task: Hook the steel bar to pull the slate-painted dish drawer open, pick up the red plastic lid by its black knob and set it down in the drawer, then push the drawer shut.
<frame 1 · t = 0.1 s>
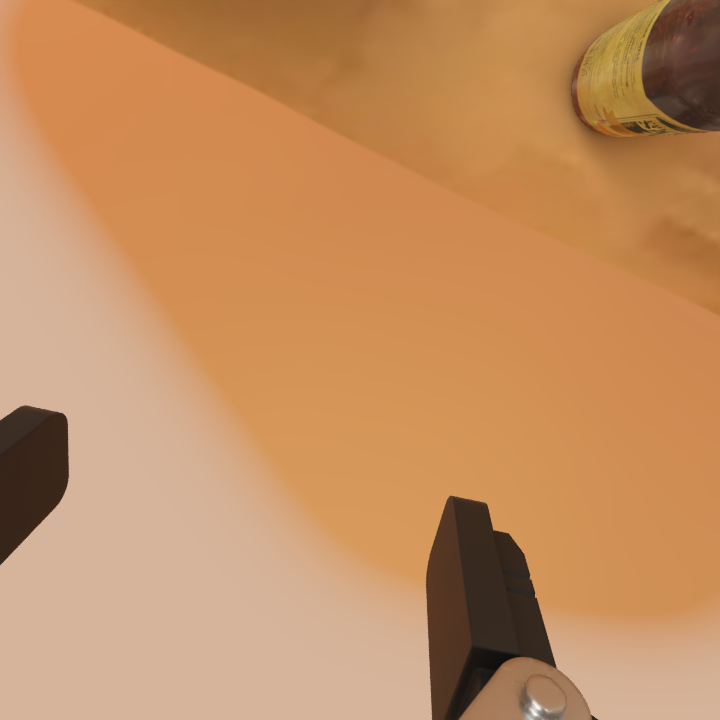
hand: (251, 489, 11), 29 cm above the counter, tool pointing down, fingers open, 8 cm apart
sauce bottle: (620, 81, 34), on the counter
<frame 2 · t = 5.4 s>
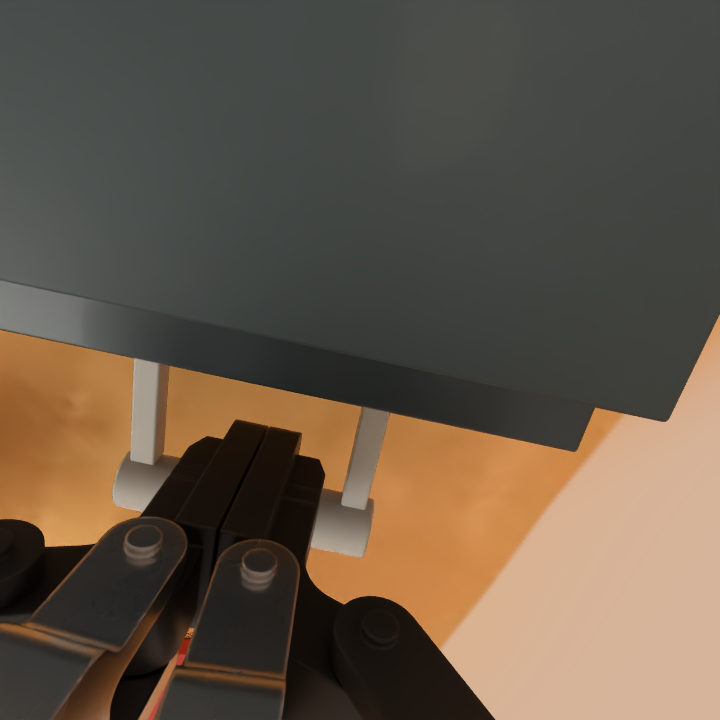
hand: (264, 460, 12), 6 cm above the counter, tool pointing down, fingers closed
lid: (199, 683, 25), on the counter
drawer: (325, 32, 10), point 5 cm above the counter, slide at 0.0 cm, touching gripper
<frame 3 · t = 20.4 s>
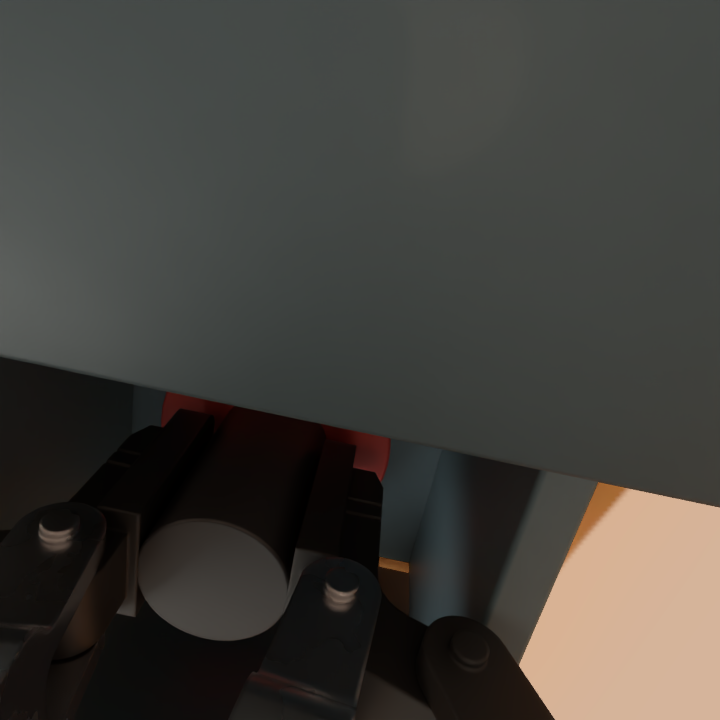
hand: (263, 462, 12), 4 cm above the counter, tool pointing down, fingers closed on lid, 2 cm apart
lid: (280, 426, 14), point 3 cm above the counter, touching gripper
drawer: (257, 510, 12), point 5 cm above the counter, slide at 9.7 cm
when the fingers open (6 cm above the counter, at t = 24.7 s): lid moves 1 cm, resting on drawer.
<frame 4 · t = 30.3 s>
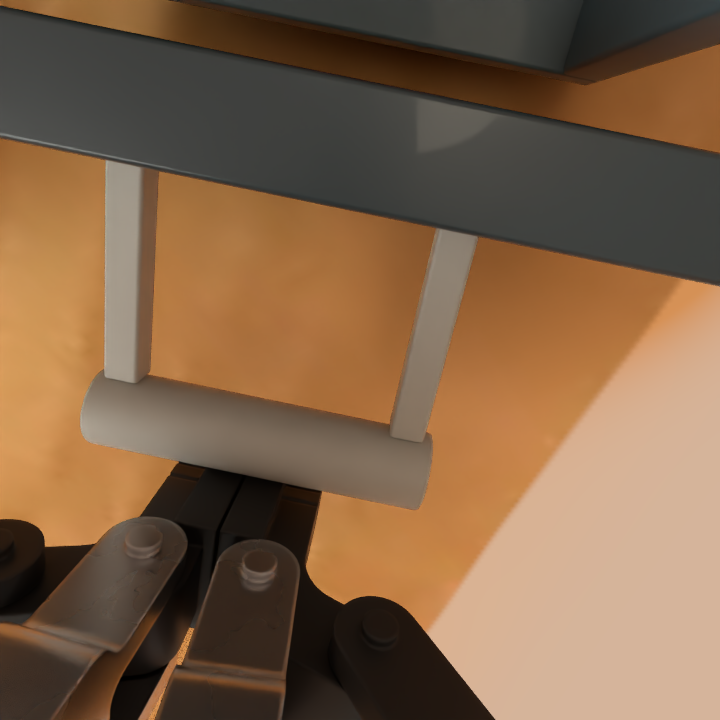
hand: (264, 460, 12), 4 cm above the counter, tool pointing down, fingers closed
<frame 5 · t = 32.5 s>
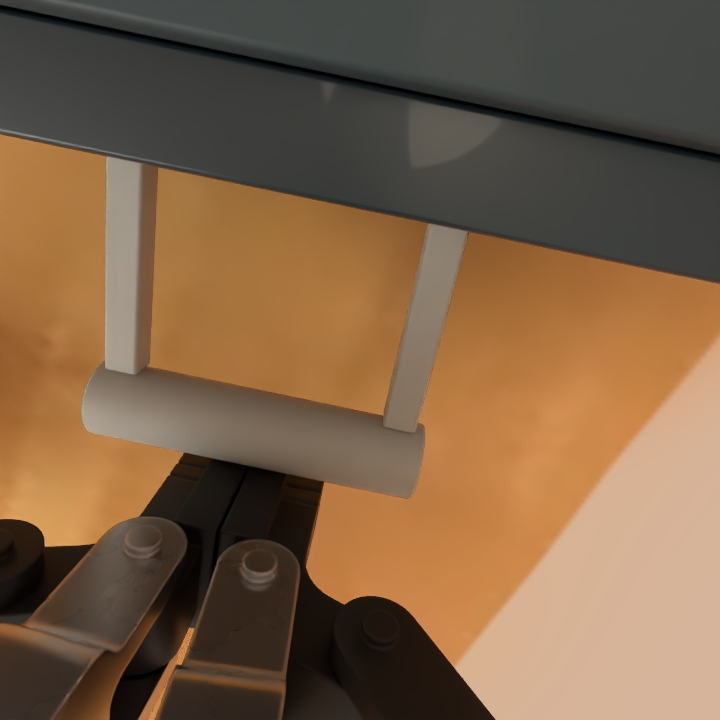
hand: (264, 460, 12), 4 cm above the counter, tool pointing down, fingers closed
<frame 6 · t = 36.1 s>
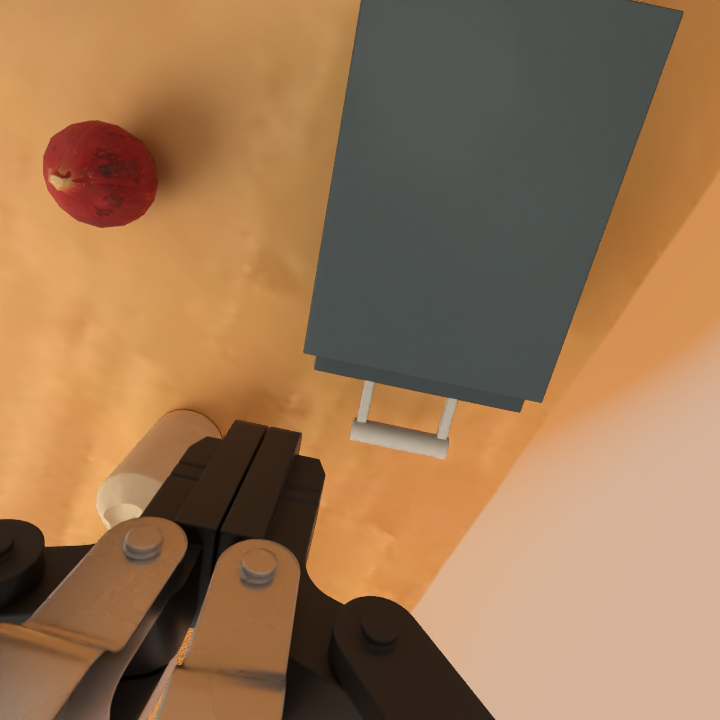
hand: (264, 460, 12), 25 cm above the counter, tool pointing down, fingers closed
onion: (134, 172, 35), on the counter
cabinet: (451, 188, 33), on the counter
drawer: (438, 274, 31), point 5 cm above the counter, slide at 0.0 cm, touching lid
candle: (189, 439, 42), on the counter
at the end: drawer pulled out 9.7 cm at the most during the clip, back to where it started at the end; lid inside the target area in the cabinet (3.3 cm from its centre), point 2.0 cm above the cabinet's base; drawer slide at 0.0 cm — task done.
